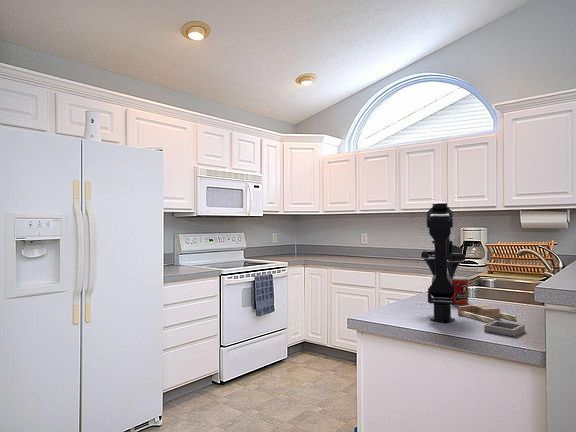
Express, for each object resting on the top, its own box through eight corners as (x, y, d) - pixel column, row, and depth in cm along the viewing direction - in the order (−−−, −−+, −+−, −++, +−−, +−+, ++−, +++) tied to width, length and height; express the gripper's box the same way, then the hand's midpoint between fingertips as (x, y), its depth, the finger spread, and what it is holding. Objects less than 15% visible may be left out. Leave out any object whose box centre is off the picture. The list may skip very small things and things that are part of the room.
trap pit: (514, 336, 126) (514, 330, 126) (484, 331, 133) (484, 325, 133) (524, 331, 132) (524, 324, 132) (495, 326, 139) (495, 320, 139)
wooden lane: (516, 320, 146) (516, 311, 146) (492, 323, 142) (492, 315, 142) (480, 311, 161) (480, 303, 161) (457, 314, 156) (457, 306, 157)
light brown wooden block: (499, 319, 149) (499, 308, 149) (484, 320, 148) (484, 309, 148) (486, 314, 157) (485, 304, 157) (471, 315, 156) (471, 304, 156)
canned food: (457, 305, 173) (456, 279, 173) (445, 301, 181) (444, 276, 181) (472, 303, 175) (471, 278, 175) (460, 300, 183) (459, 275, 183)
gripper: (475, 238, 159) (476, 278, 159) (441, 236, 176) (442, 273, 176) (453, 239, 155) (454, 281, 155) (420, 237, 172) (420, 275, 172)
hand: (442, 277), depth 165 cm, fingers open, 9 cm apart
